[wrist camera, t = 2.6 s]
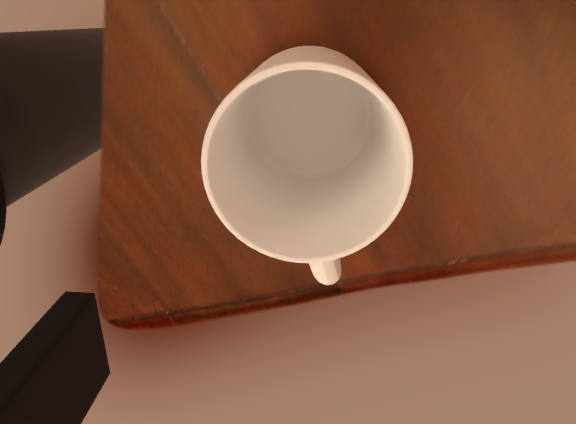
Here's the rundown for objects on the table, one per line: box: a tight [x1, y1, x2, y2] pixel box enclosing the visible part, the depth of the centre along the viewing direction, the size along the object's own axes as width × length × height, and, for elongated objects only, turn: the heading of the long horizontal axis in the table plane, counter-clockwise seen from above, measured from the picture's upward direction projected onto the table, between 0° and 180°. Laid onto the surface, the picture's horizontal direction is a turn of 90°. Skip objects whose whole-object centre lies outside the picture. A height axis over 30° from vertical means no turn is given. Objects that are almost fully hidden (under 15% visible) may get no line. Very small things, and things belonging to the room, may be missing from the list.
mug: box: [201, 46, 413, 285], centre depth 22 cm, size 12×8×10 cm
